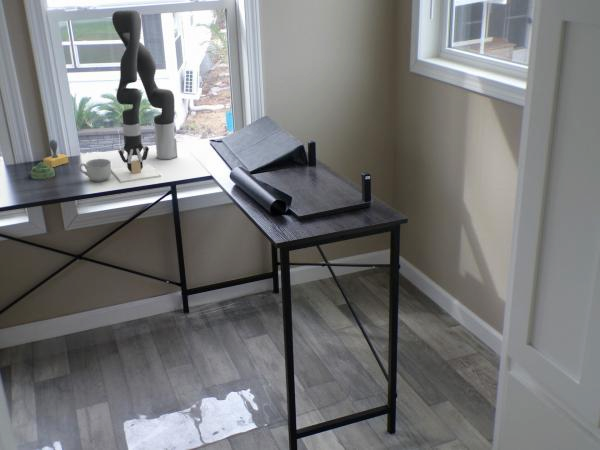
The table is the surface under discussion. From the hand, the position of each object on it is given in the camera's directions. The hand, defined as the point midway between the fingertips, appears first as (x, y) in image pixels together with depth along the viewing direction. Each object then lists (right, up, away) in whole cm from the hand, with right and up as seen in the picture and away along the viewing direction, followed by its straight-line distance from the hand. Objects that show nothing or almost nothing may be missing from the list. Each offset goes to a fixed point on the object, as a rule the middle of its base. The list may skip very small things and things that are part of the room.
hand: (135, 169), depth 305 cm
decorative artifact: (-41, -3, -3) cm, 41 cm away
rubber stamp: (-40, +3, +12) cm, 42 cm away
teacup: (-16, -5, -7) cm, 18 cm away
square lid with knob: (0, -2, +1) cm, 2 cm away
